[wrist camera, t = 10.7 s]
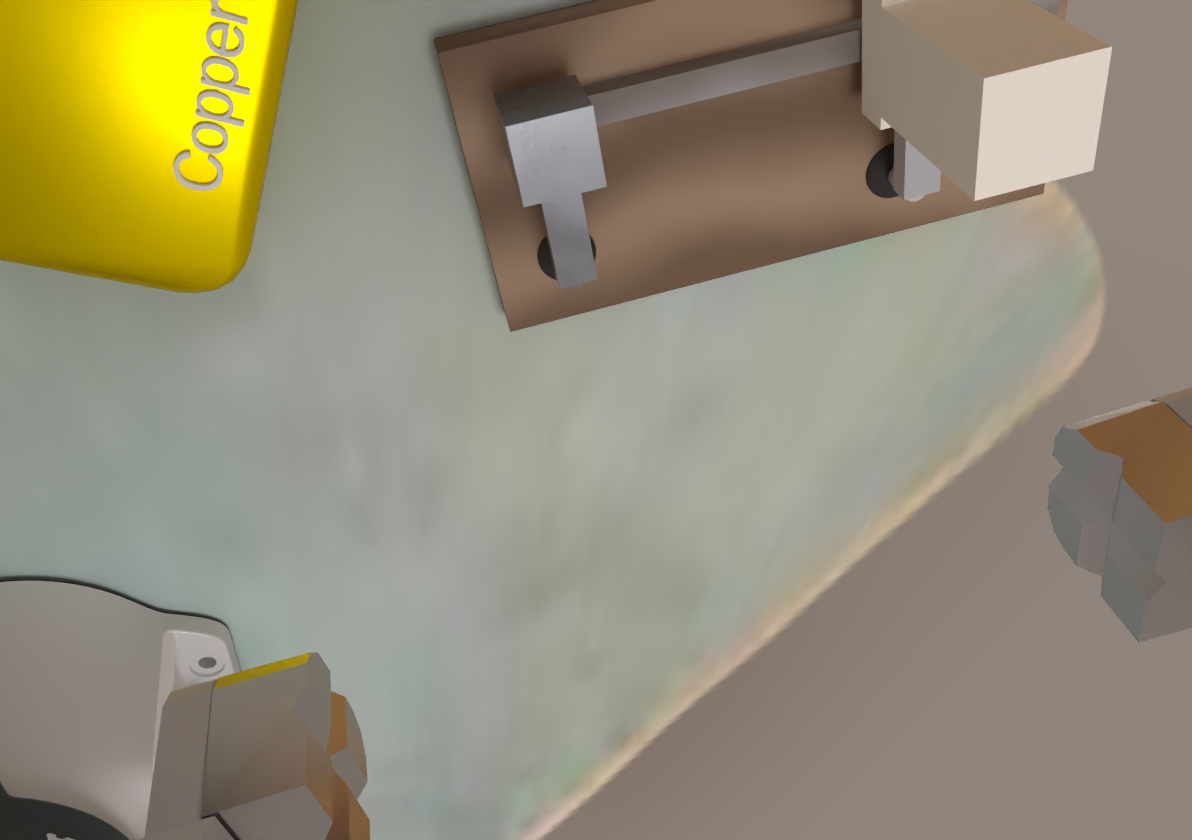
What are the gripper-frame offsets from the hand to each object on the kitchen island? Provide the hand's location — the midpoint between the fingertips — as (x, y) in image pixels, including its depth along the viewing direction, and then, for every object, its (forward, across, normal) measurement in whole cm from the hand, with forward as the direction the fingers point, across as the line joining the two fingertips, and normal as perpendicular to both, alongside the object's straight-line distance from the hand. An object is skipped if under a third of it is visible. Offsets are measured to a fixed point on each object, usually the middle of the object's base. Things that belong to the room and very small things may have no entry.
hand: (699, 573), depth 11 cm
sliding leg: (+29, -16, +10) cm, 34 cm away
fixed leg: (+29, -2, +10) cm, 31 cm away
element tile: (+32, +13, 0) cm, 34 cm away
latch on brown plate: (+31, -11, +10) cm, 34 cm away
